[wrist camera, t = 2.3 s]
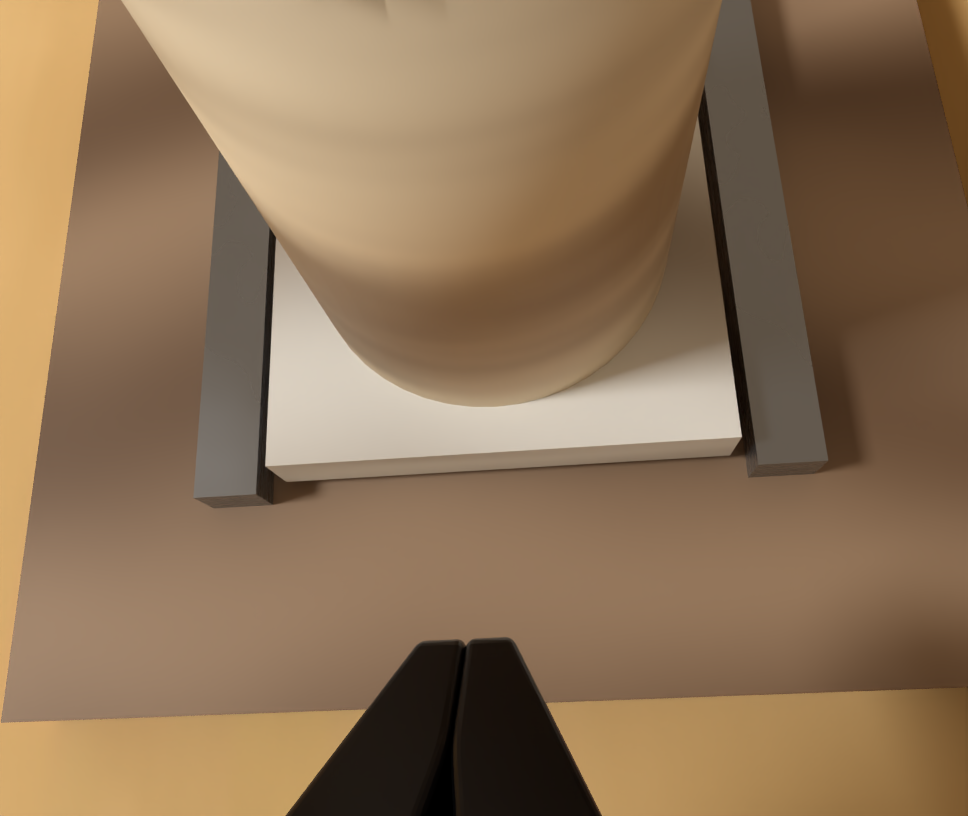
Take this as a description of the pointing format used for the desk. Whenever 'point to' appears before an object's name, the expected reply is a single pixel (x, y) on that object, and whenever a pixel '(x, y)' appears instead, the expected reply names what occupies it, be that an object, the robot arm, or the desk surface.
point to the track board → (518, 491)
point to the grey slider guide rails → (742, 263)
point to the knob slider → (471, 225)
